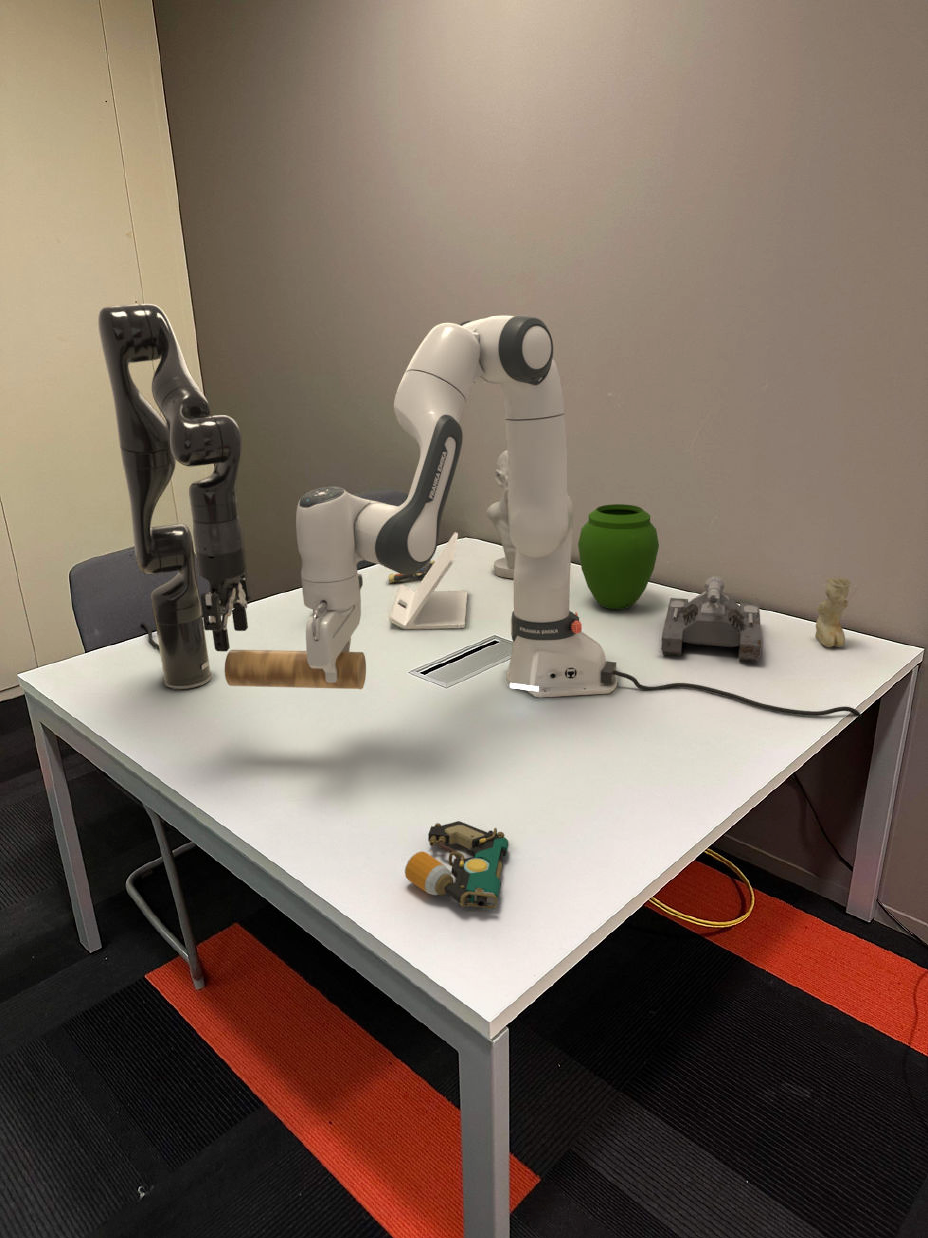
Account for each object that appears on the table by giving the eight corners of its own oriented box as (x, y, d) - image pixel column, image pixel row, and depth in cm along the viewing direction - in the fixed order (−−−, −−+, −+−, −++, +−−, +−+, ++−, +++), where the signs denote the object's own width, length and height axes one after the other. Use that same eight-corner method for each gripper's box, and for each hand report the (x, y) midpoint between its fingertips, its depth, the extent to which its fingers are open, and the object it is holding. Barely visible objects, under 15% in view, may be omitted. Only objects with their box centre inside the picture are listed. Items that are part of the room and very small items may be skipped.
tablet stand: (467, 593, 225) (465, 531, 219) (465, 628, 202) (462, 559, 196) (399, 594, 226) (395, 532, 220) (388, 629, 203) (384, 560, 197)
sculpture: (821, 649, 184) (830, 583, 179) (808, 637, 191) (816, 573, 185) (848, 649, 184) (858, 582, 179) (834, 636, 191) (843, 572, 185)
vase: (599, 587, 227) (601, 497, 218) (668, 600, 216) (673, 505, 208) (562, 608, 212) (564, 513, 204) (634, 623, 202) (639, 523, 193)
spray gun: (441, 830, 127) (536, 857, 121) (385, 892, 112) (490, 926, 106) (442, 805, 125) (538, 831, 119) (385, 864, 111) (491, 897, 105)
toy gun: (385, 575, 234) (420, 572, 232) (403, 560, 252) (435, 557, 250) (387, 585, 235) (422, 582, 233) (404, 569, 253) (437, 566, 251)
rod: (367, 679, 143) (364, 646, 141) (358, 695, 138) (356, 661, 136) (240, 676, 146) (236, 644, 144) (227, 692, 140) (222, 658, 138)
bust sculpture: (503, 593, 225) (502, 460, 212) (483, 567, 247) (480, 445, 234) (562, 587, 228) (563, 456, 215) (536, 562, 250) (536, 441, 237)
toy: (669, 617, 205) (672, 557, 199) (757, 623, 199) (763, 562, 194) (660, 658, 182) (664, 591, 177) (759, 666, 177) (766, 598, 171)
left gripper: (214, 533, 142) (226, 623, 148) (178, 558, 129) (192, 657, 134) (257, 533, 141) (268, 624, 147) (226, 559, 128) (238, 658, 134)
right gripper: (333, 614, 125) (341, 699, 130) (364, 572, 144) (370, 647, 149) (291, 614, 126) (301, 698, 131) (328, 572, 145) (335, 647, 150)
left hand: (232, 640), depth 141 cm, fingers open, 8 cm apart
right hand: (338, 671), depth 140 cm, fingers closed on rod, 6 cm apart
